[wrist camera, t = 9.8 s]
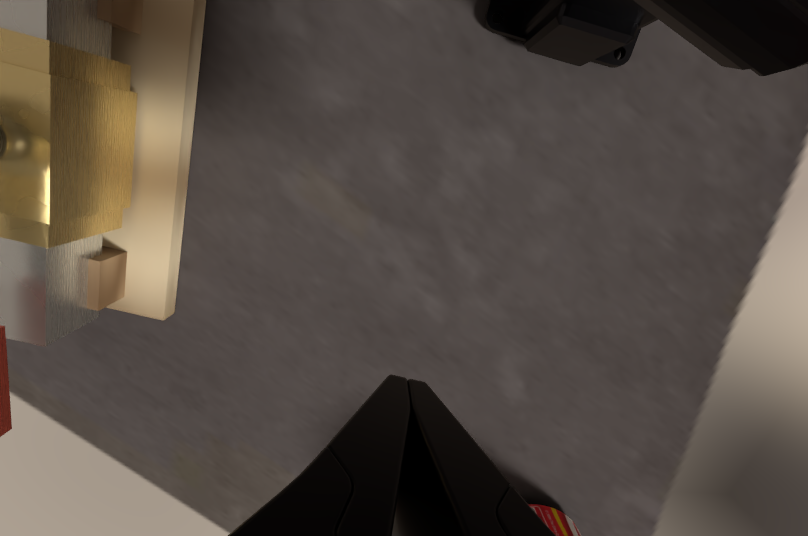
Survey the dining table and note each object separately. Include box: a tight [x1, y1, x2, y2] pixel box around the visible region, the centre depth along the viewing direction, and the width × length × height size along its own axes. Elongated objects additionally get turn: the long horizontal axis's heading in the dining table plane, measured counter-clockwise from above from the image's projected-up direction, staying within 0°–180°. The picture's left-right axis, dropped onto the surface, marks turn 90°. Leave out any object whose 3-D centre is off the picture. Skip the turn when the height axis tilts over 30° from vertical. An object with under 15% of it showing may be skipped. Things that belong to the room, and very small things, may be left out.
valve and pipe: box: [0, 0, 138, 347], centre depth 15 cm, size 16×4×5 cm, turn 166°
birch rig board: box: [87, 0, 206, 320], centre depth 18 cm, size 16×8×3 cm, turn 166°
